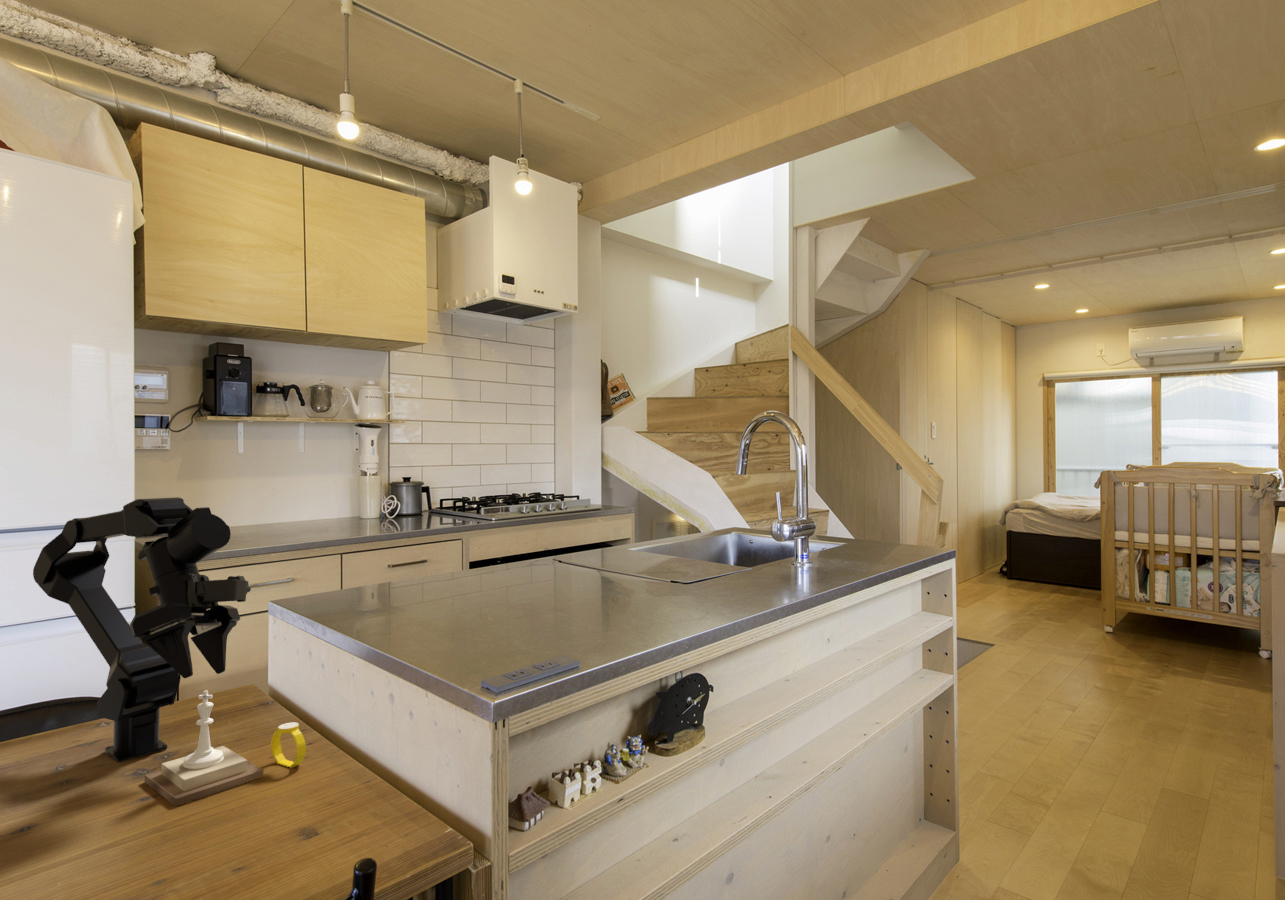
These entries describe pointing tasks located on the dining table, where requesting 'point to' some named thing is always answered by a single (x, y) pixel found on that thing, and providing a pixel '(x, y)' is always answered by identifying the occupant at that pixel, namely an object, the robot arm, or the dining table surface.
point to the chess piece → (204, 739)
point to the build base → (200, 790)
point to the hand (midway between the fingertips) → (205, 674)
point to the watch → (299, 741)
